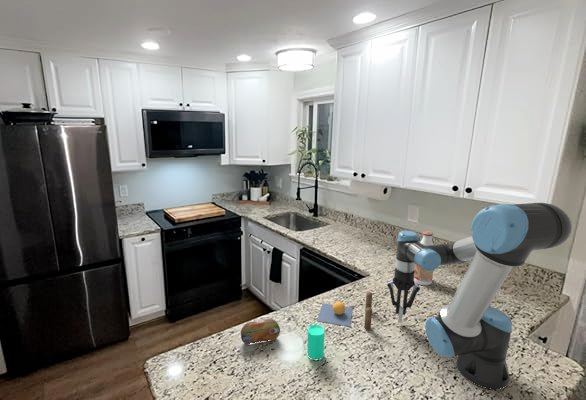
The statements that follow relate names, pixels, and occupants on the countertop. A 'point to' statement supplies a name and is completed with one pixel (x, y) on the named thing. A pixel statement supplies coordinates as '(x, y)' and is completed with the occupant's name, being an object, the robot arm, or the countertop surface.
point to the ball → (339, 308)
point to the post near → (368, 318)
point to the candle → (315, 341)
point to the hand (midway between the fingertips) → (399, 320)
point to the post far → (368, 300)
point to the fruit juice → (421, 274)
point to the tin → (260, 331)
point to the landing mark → (334, 315)
